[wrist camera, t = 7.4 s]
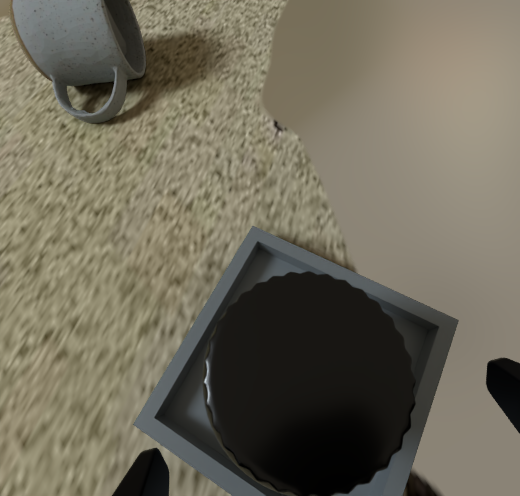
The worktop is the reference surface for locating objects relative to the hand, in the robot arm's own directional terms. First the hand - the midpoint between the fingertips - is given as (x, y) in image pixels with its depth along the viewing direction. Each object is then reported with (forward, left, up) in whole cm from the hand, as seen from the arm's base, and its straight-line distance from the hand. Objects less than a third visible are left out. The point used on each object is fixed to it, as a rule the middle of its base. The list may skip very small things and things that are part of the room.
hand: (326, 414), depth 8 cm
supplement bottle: (+1, -1, -10) cm, 10 cm away
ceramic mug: (+28, -15, -11) cm, 34 cm away
